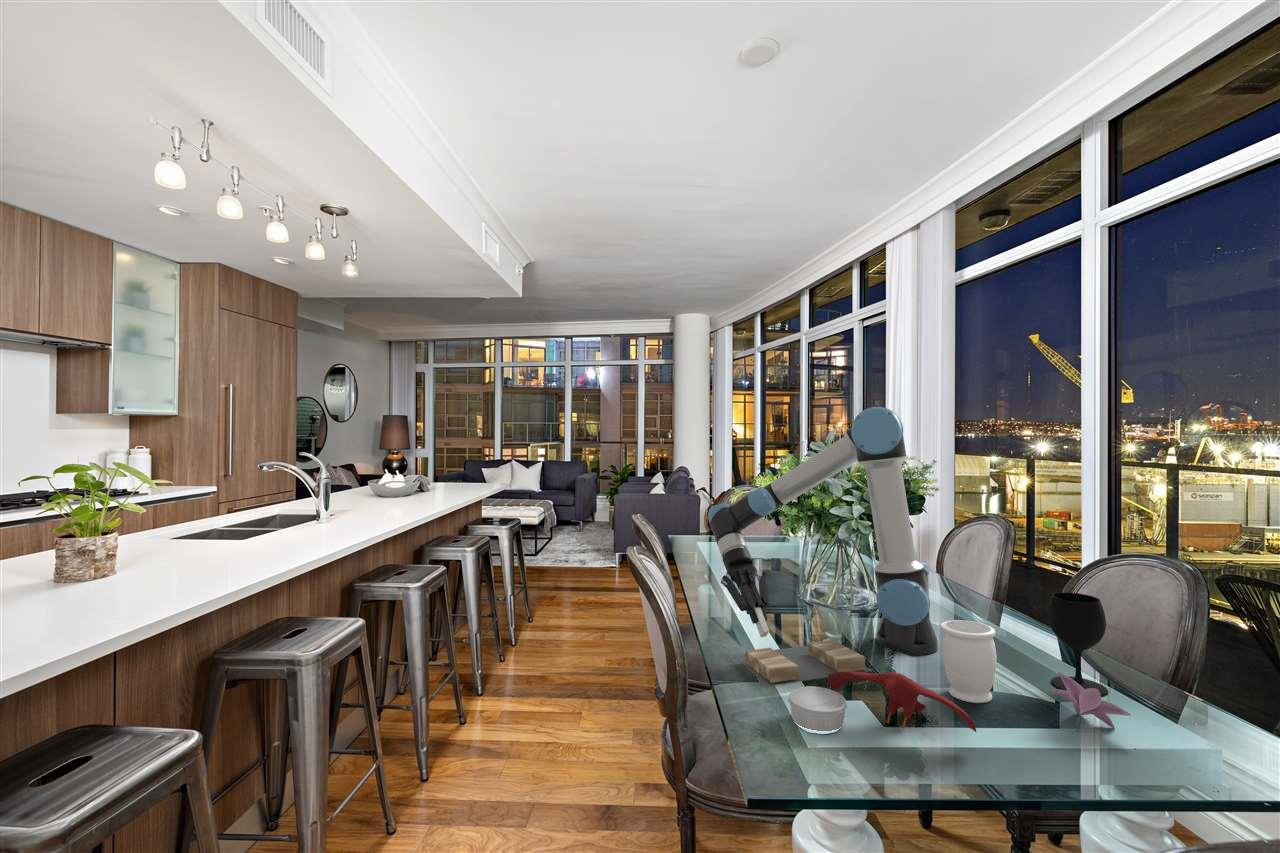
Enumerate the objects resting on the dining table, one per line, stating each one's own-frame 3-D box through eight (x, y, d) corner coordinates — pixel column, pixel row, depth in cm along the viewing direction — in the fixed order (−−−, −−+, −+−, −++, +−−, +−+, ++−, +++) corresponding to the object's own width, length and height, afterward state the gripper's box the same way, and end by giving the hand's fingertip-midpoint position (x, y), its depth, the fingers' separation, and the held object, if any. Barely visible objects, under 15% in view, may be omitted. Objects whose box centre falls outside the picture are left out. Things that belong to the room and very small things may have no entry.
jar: (977, 710, 123) (975, 637, 123) (933, 692, 132) (930, 624, 132) (1008, 699, 127) (1006, 629, 128) (963, 682, 137) (961, 616, 137)
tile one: (808, 642, 154) (839, 660, 141) (832, 639, 156) (864, 656, 143) (808, 655, 154) (840, 674, 141) (832, 652, 156) (865, 670, 142)
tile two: (745, 650, 150) (770, 669, 136) (770, 647, 151) (798, 665, 138) (745, 664, 149) (771, 684, 136) (770, 660, 151) (798, 680, 138)
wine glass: (1097, 680, 136) (1094, 593, 136) (1117, 699, 126) (1113, 605, 126) (1044, 675, 139) (1041, 590, 139) (1059, 694, 129) (1056, 602, 130)
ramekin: (839, 744, 111) (838, 715, 111) (781, 729, 117) (780, 702, 117) (852, 719, 120) (852, 692, 121) (798, 707, 126) (797, 682, 126)
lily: (1139, 752, 107) (1143, 698, 110) (1075, 727, 108) (1082, 674, 111) (1087, 741, 119) (1092, 692, 122) (1030, 718, 119) (1037, 670, 122)
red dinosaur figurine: (838, 720, 129) (813, 683, 122) (851, 681, 134) (828, 644, 127) (983, 769, 109) (963, 729, 102) (992, 721, 114) (974, 680, 107)
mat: (826, 645, 162) (826, 643, 162) (873, 673, 143) (873, 670, 143) (732, 657, 155) (732, 655, 155) (767, 688, 136) (767, 685, 136)
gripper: (752, 560, 167) (783, 638, 150) (709, 563, 163) (736, 644, 147) (760, 544, 162) (793, 623, 145) (716, 547, 158) (745, 629, 142)
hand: (765, 634), depth 146 cm, fingers closed
